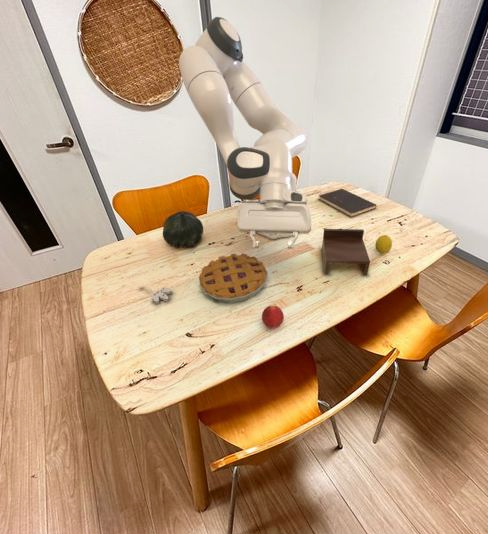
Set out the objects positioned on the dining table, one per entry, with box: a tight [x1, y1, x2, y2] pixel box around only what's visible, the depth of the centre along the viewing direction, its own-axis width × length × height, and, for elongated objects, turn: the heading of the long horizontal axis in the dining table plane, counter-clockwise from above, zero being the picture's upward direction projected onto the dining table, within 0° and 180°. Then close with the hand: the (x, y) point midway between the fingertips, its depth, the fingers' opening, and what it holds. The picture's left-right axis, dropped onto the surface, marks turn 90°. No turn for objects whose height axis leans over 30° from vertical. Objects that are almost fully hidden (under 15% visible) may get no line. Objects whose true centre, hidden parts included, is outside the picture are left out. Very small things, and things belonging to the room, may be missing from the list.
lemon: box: [374, 234, 393, 255], centre depth 100 cm, size 6×6×8 cm
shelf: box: [321, 228, 371, 277], centre depth 96 cm, size 15×14×9 cm
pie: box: [198, 253, 269, 304], centre depth 89 cm, size 22×22×5 cm
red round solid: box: [261, 304, 285, 329], centre depth 74 cm, size 6×6×8 cm
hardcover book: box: [318, 188, 377, 218], centre depth 135 cm, size 16×23×2 cm
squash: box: [162, 210, 204, 249], centre depth 106 cm, size 14×15×15 cm
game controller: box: [140, 287, 171, 305], centre depth 86 cm, size 6×12×3 cm, turn 79°
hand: (273, 248), depth 75 cm, fingers open, 8 cm apart
